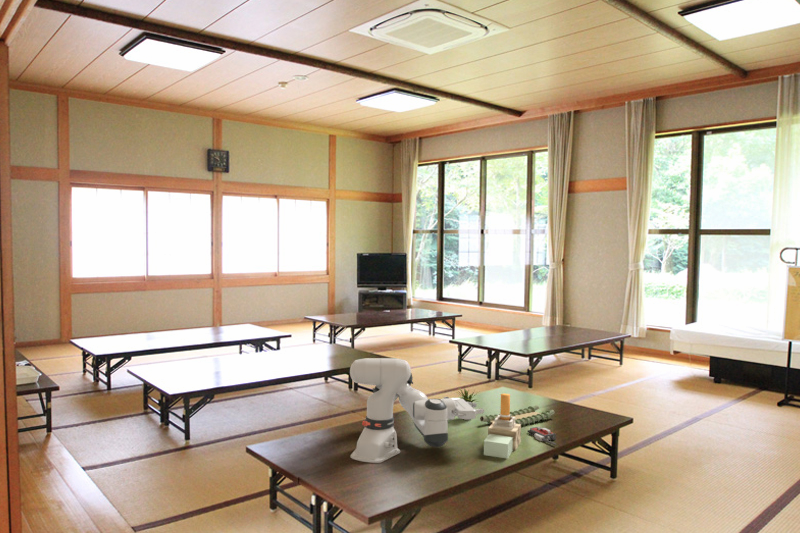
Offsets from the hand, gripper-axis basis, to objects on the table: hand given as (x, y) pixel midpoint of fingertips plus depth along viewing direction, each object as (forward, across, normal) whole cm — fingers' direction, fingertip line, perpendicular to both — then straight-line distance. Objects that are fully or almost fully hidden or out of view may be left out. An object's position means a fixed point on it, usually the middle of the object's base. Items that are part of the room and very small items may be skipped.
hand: (479, 407), depth 246 cm
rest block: (+5, -10, +16) cm, 20 cm away
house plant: (+6, +40, +17) cm, 43 cm away
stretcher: (+31, +30, +17) cm, 46 cm away
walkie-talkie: (+33, +4, +17) cm, 37 cm away
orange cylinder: (+12, 0, +8) cm, 14 cm away
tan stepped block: (+12, 0, +16) cm, 20 cm away
